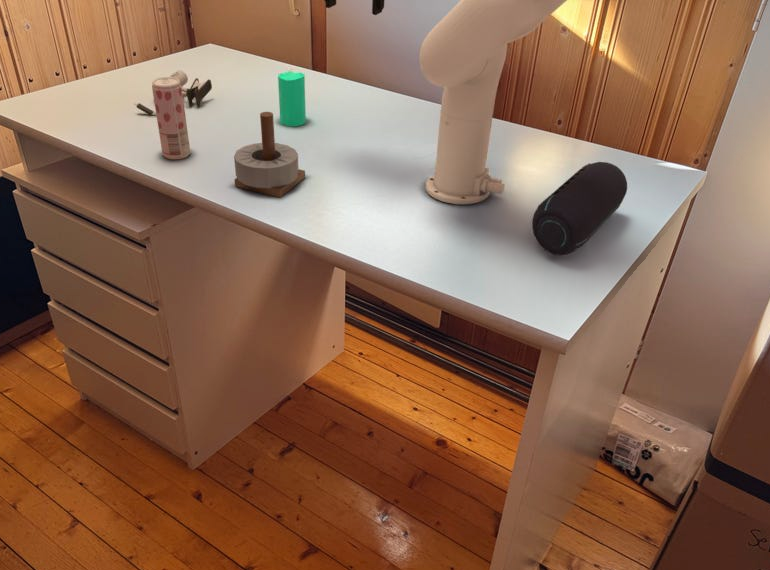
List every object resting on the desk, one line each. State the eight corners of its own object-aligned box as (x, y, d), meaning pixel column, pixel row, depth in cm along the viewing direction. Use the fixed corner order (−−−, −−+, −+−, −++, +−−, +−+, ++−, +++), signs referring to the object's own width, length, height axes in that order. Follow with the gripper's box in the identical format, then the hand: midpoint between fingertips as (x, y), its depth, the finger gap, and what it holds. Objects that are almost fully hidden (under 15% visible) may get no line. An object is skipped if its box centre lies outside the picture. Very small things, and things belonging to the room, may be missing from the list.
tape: (309, 169, 141) (308, 150, 139) (277, 193, 133) (276, 172, 130) (257, 157, 145) (256, 138, 143) (224, 179, 137) (222, 159, 134)
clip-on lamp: (170, 133, 165) (217, 94, 174) (164, 108, 160) (212, 70, 169) (131, 118, 169) (179, 81, 178) (123, 94, 163) (173, 57, 173)
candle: (311, 121, 165) (310, 68, 158) (292, 128, 162) (290, 74, 154) (293, 114, 168) (292, 62, 161) (274, 121, 165) (271, 67, 157)
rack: (305, 177, 142) (303, 110, 133) (279, 197, 135) (276, 127, 126) (262, 167, 145) (257, 101, 137) (235, 186, 138) (228, 117, 129)
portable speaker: (574, 199, 138) (586, 149, 132) (624, 213, 134) (639, 163, 127) (518, 251, 122) (528, 197, 115) (573, 270, 118) (587, 215, 111)
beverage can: (180, 146, 152) (169, 74, 142) (196, 154, 149) (186, 81, 139) (157, 154, 149) (145, 80, 139) (173, 162, 146) (161, 88, 136)
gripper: (301, -100, 123) (303, 8, 134) (392, -91, 118) (387, 20, 128) (321, -104, 128) (322, 0, 139) (409, -96, 123) (403, 11, 134)
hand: (353, 9), depth 134 cm, fingers open, 9 cm apart
